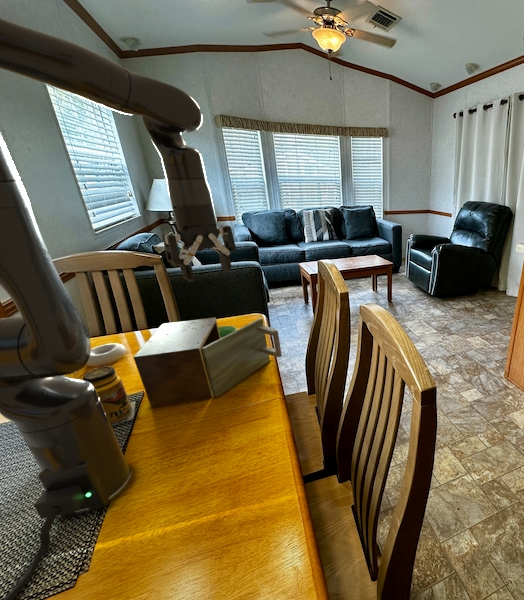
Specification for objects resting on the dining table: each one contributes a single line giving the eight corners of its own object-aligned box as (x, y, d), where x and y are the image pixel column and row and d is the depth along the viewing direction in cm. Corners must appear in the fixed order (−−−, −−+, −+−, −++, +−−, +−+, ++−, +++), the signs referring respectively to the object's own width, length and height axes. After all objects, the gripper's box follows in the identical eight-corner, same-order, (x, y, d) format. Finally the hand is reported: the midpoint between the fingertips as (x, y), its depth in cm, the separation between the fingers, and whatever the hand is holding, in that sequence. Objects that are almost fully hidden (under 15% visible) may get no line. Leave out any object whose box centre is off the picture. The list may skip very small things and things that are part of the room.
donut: (91, 373, 91) (133, 356, 99) (86, 362, 90) (129, 346, 98) (79, 362, 96) (119, 347, 104) (74, 352, 95) (116, 338, 103)
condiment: (133, 419, 74) (116, 374, 69) (83, 435, 70) (62, 388, 65) (136, 401, 80) (120, 359, 75) (90, 415, 75) (70, 371, 71)
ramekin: (220, 336, 111) (217, 324, 109) (244, 338, 110) (242, 326, 108) (201, 349, 102) (198, 337, 101) (228, 351, 101) (225, 339, 100)
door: (288, 365, 94) (281, 322, 89) (236, 404, 78) (224, 354, 73) (267, 360, 96) (259, 318, 91) (213, 396, 81) (201, 348, 76)
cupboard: (225, 360, 97) (215, 317, 92) (212, 397, 81) (198, 348, 76) (176, 367, 93) (162, 323, 88) (151, 408, 77) (133, 357, 72)
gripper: (213, 198, 76) (227, 266, 82) (144, 204, 64) (167, 282, 70) (234, 199, 73) (247, 270, 79) (166, 205, 61) (187, 287, 67)
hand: (209, 275), depth 74 cm, fingers open, 8 cm apart
